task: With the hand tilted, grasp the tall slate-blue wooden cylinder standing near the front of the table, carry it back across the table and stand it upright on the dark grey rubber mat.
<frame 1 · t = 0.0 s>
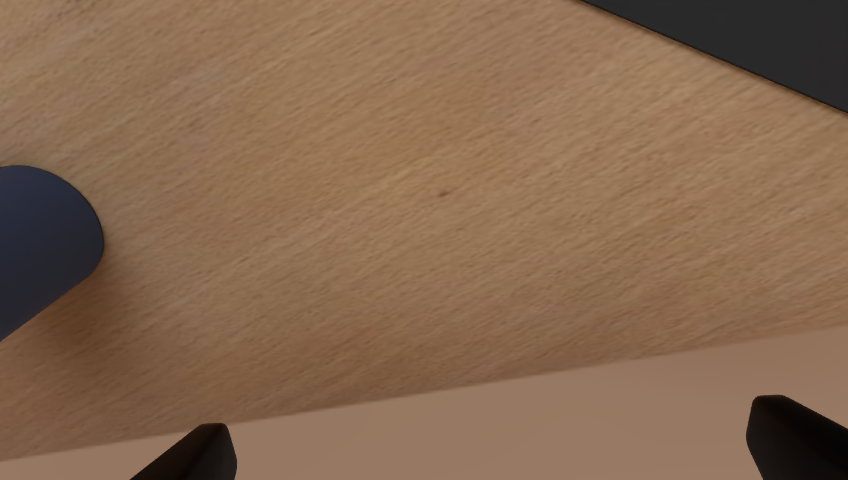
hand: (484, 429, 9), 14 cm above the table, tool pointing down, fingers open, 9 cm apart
blue cylinder: (37, 228, 23), on the table
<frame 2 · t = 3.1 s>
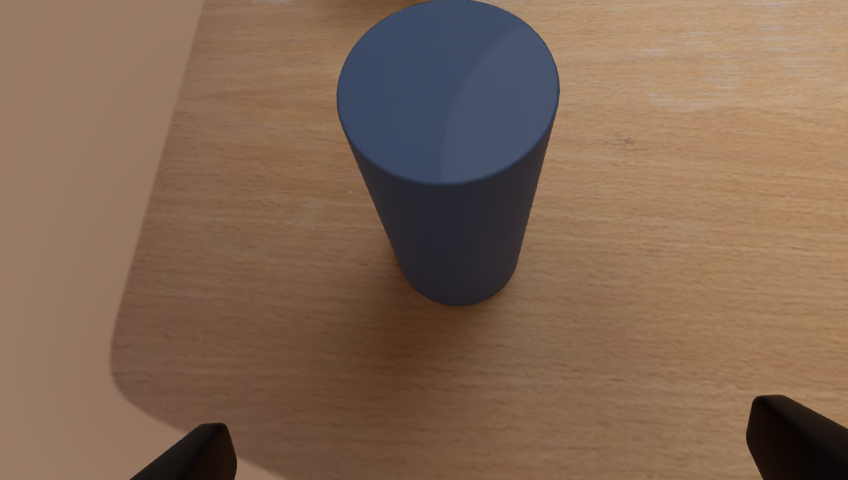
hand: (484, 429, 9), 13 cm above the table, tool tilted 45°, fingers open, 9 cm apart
blue cylinder: (457, 247, 24), on the table
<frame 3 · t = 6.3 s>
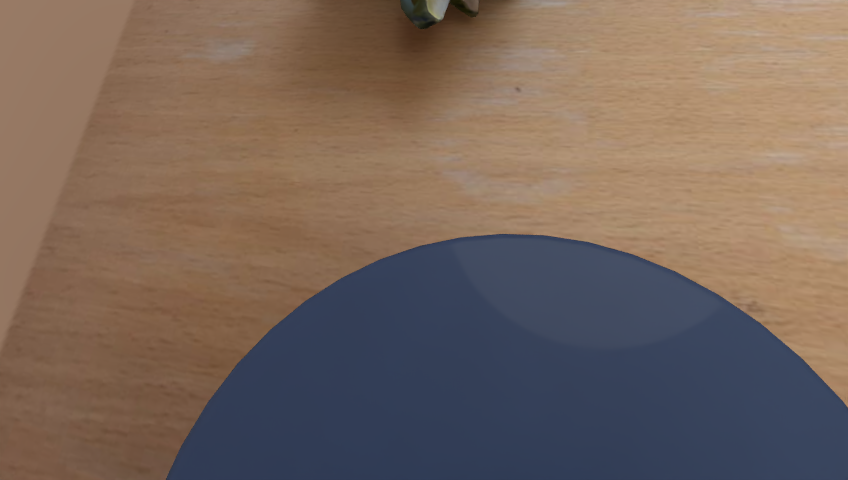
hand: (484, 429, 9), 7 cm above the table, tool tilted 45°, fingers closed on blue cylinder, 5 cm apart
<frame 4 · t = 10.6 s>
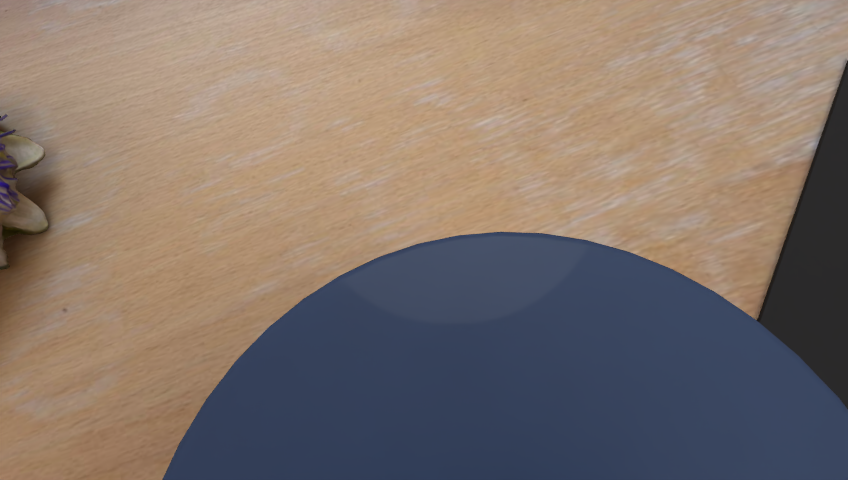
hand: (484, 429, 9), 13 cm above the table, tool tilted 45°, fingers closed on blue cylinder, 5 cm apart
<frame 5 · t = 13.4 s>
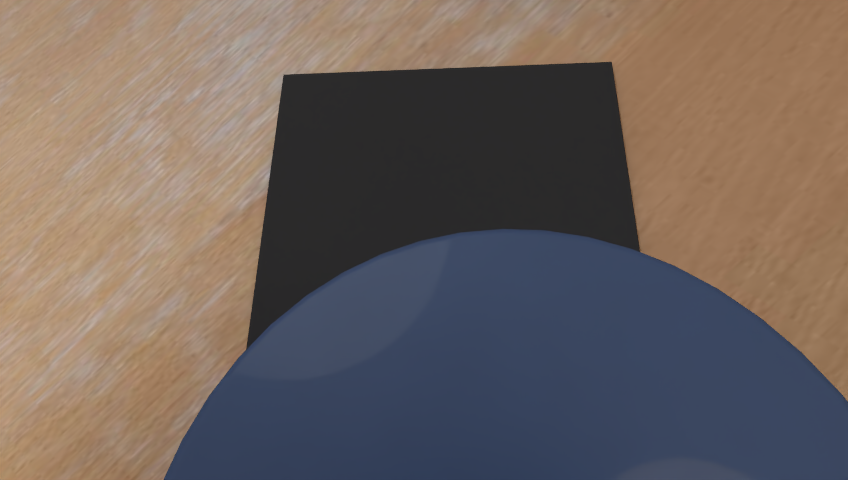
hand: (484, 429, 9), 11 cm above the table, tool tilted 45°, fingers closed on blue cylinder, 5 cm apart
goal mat: (444, 287, 22), on the table
when the fingers open (7 cm above the table, at t = 15.2 s): blue cylinder stays where it is, resting on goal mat.
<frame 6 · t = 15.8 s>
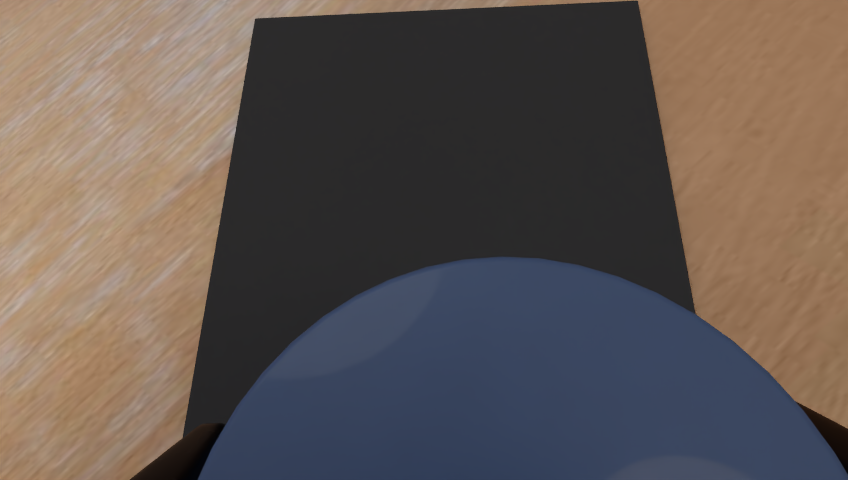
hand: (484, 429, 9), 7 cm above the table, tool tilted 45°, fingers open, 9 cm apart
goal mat: (441, 259, 18), on the table
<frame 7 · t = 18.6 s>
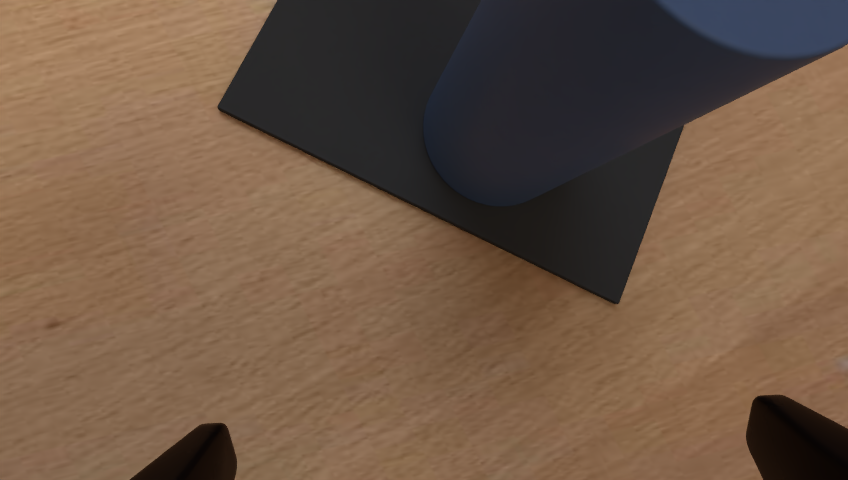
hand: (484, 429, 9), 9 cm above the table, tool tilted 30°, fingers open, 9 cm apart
blue cylinder: (496, 132, 20), resting on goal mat
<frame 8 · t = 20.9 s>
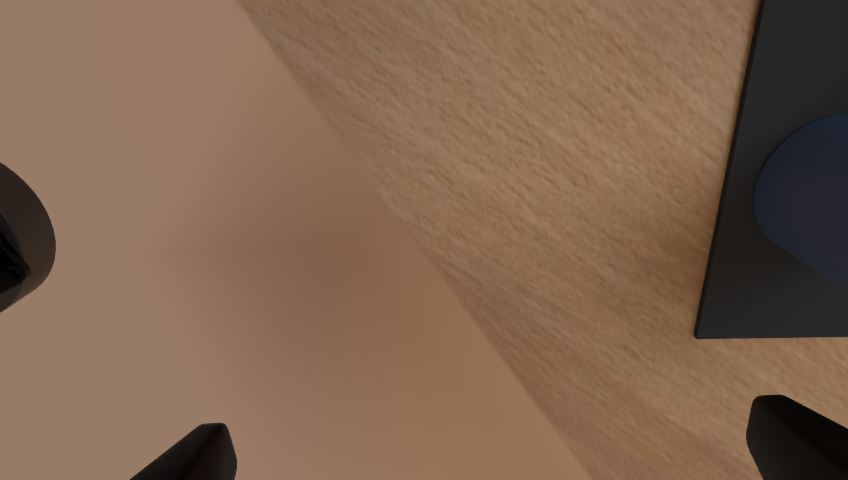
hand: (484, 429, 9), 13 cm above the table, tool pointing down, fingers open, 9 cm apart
blue cylinder: (827, 186, 20), resting on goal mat
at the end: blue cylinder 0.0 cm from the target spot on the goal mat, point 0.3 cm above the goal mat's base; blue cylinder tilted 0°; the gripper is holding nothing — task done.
